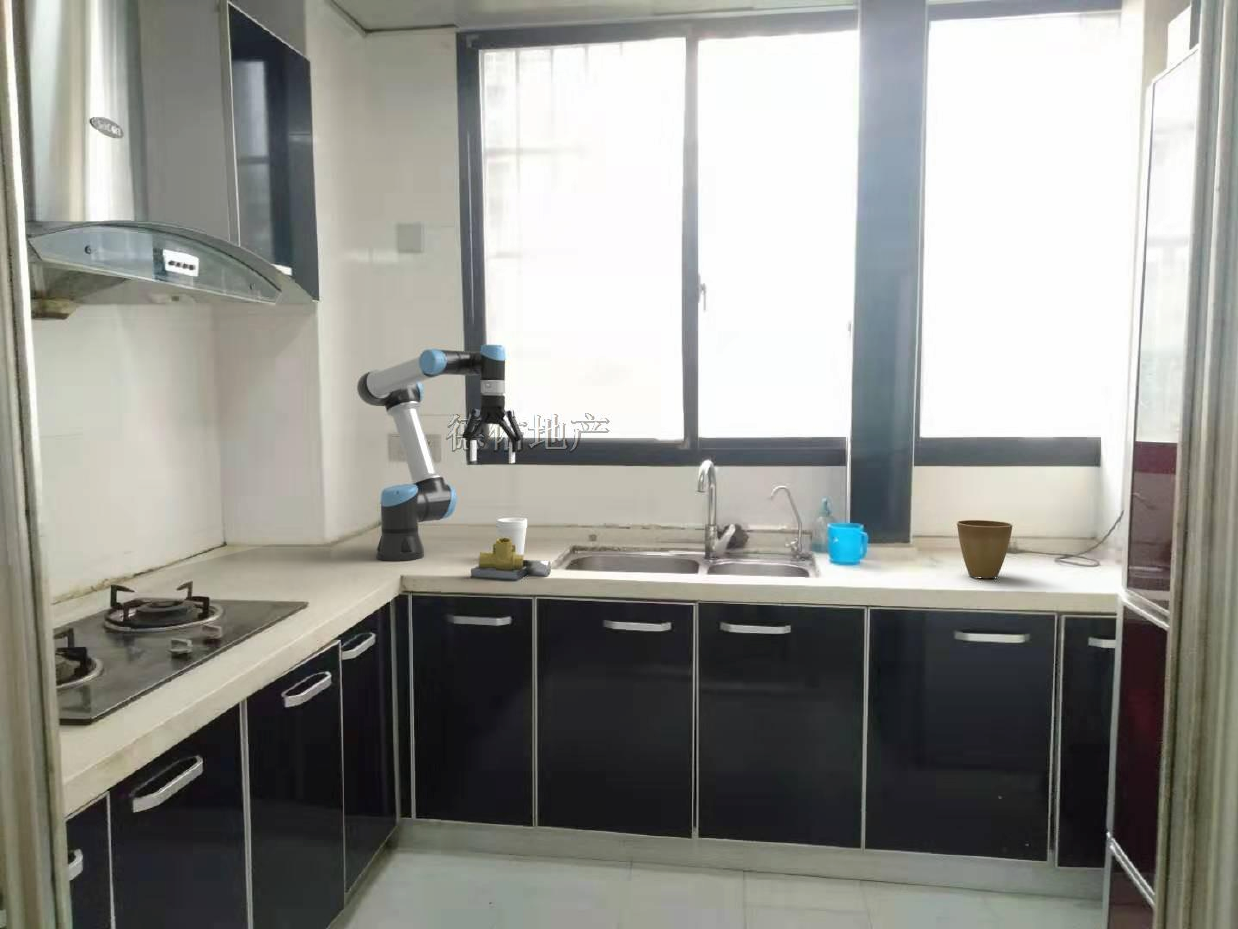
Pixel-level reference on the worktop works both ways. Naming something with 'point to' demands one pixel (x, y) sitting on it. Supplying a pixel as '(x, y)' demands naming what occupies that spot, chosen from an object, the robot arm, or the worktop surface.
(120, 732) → the worktop surface
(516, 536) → the foam cup
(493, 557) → the ball valve
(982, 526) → the plant pot
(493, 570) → the fitting cradle
